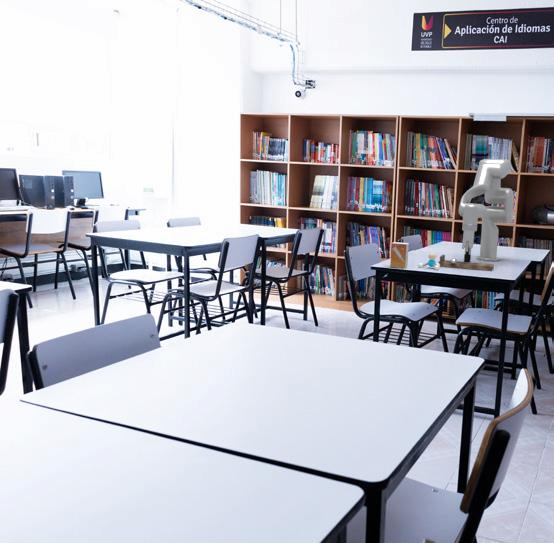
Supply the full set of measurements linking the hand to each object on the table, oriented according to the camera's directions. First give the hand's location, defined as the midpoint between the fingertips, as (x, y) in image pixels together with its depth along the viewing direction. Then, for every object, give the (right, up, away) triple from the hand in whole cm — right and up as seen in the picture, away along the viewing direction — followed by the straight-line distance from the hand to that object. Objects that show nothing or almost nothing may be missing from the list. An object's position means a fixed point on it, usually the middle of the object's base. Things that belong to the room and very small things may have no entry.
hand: (467, 261), depth 355 cm
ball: (-7, 0, +3) cm, 7 cm away
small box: (-38, -3, -6) cm, 38 cm away
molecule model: (-20, -4, -6) cm, 21 cm away
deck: (-1, -3, +1) cm, 3 cm away
